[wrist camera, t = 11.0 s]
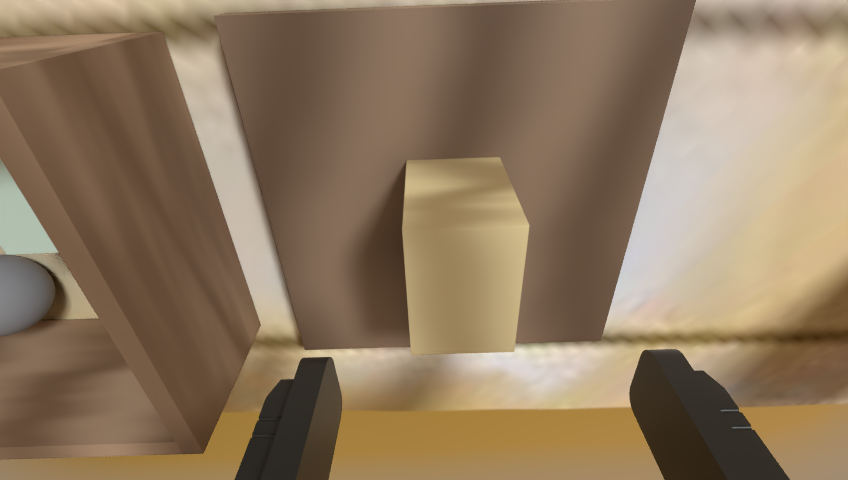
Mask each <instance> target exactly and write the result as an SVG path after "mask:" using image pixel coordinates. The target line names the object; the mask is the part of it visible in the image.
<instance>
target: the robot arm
mask: <svg viewBox="0 0 848 480" xmlns="http://www.w3.org/2000/svg"><path fill="white" fill-rule="evenodd" d="M630 403H631V407H632V410H633V413H634V415H635V417H636V419H637V422H638V423H639V426H640V428H641V430H642V432H643V434H644V436H645V439H646V441H647V443H648V445H649V447H650V449H651V451H652V453H653V455H654V458H655V460H656V462H657V464H658V466H659V469H660V471H661V473H662V475H663V477H664V479H665V480H790V479H789V478H788V476H787V475H786V474H785V472H784V471H783V469H782V468H781V467H780V465H779V464H778V463H777V461H776V460H775V459H774V457H773V456H772V454H771V453H770V451H769V450H768V448H767V447H766V446H765V444H764V443H763V442H762V440H761V439H760V437H759V436H758V435H757V433H756V432H755V430H752V429H751V425H750V424H749V422H748V421H747V419H746V418H745V416H744V415H743V414H742V413H740V412H739V408H738V407H737V405H736V404H735V402H734V401H733V400H732V398H731V397H730V395H729V394H728V393H727V391H726V390H725V388H724V387H722V386H721V385H720V384H719V383H718V382H716V381H715V380H714V379H713V378H711V377H710V376H709V375H708V374H707V373H705V372H704V371H694V370H693V369H692V367H691V366H690V364H689V363H688V361H687V360H686V358H685V357H684V355H683V354H682V353H681V352H680V351H679V350H676V349H663V350H644V351H643V352H642V354H641V356H640V359H639V362H638V365H637V368H636V371H635V374H634V377H633V380H632V383H631V386H630ZM341 412H342V396H341V391H340V386H339V382H338V378H337V374H336V370H335V366H334V362H333V359H332V358H331V357H316V358H302V359H301V361H300V363H299V366H298V369H297V372H296V375H295V378H294V379H287V380H280V382H279V383H278V384H277V385H276V386H275V388H274V389H273V390H272V391H271V392H270V393H269V395H268V396H267V397H266V400H265V402H264V405H263V407H262V410H261V413H260V415H259V421H257V423H256V426H255V428H254V431H253V435H252V438H251V439H250V441H249V444H248V446H247V449H246V452H245V454H244V457H243V460H242V462H241V465H240V467H239V470H238V472H237V475H236V478H235V480H328V479H329V473H330V469H331V464H332V459H333V454H334V449H335V444H336V439H337V434H338V429H339V424H340V419H341Z"/></svg>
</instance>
